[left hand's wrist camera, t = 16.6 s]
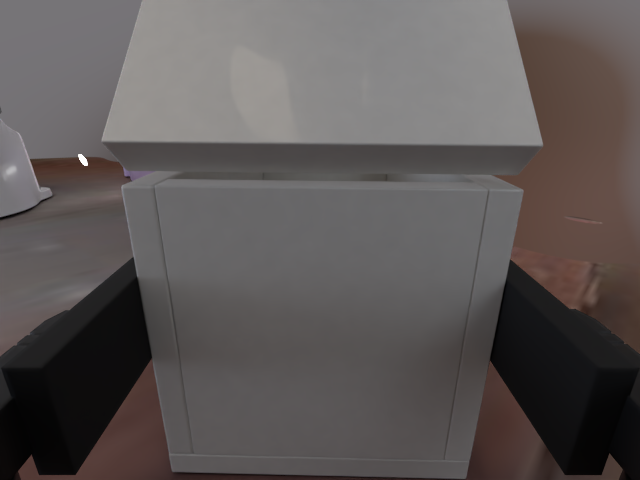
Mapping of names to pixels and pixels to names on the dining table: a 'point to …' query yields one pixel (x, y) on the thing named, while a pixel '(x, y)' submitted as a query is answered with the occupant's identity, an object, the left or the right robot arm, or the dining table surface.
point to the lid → (324, 88)
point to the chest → (321, 316)
